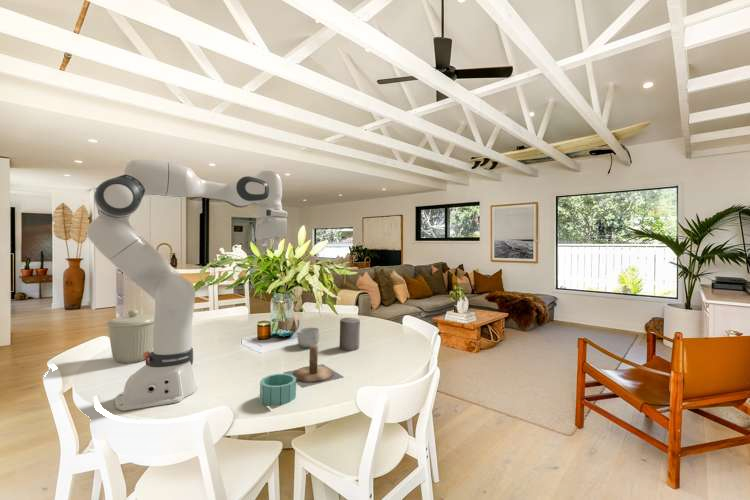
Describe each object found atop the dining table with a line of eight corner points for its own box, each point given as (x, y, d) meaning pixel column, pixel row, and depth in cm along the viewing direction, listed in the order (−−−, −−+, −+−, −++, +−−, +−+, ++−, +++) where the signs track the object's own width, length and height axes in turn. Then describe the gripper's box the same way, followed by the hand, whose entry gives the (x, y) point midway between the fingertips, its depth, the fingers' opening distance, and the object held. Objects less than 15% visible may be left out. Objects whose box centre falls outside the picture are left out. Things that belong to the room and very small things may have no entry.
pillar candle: (335, 346, 171) (336, 316, 171) (352, 343, 177) (352, 314, 177) (346, 352, 164) (347, 320, 163) (363, 348, 170) (364, 317, 169)
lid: (303, 385, 123) (304, 355, 123) (286, 372, 135) (286, 344, 135) (340, 376, 132) (341, 348, 132) (321, 365, 144) (321, 339, 144)
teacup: (314, 349, 166) (314, 333, 166) (293, 348, 168) (293, 331, 168) (324, 341, 180) (324, 326, 180) (304, 340, 182) (304, 324, 182)
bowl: (267, 409, 106) (267, 389, 106) (255, 396, 115) (255, 378, 115) (301, 400, 113) (301, 381, 113) (287, 388, 122) (287, 371, 121)
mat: (302, 388, 121) (302, 387, 121) (283, 373, 135) (283, 372, 135) (344, 378, 132) (344, 377, 132) (322, 365, 145) (322, 364, 145)
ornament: (299, 339, 183) (299, 311, 182) (269, 341, 180) (269, 311, 179) (299, 332, 197) (299, 305, 197) (271, 333, 194) (271, 306, 194)
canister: (152, 364, 143) (152, 312, 143) (98, 369, 137) (98, 314, 136) (162, 351, 160) (162, 305, 160) (115, 354, 154) (115, 306, 153)
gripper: (251, 216, 141) (250, 250, 140) (273, 210, 126) (273, 249, 125) (266, 217, 145) (265, 251, 145) (290, 212, 130) (289, 249, 129)
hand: (269, 250), depth 135 cm, fingers open, 8 cm apart
